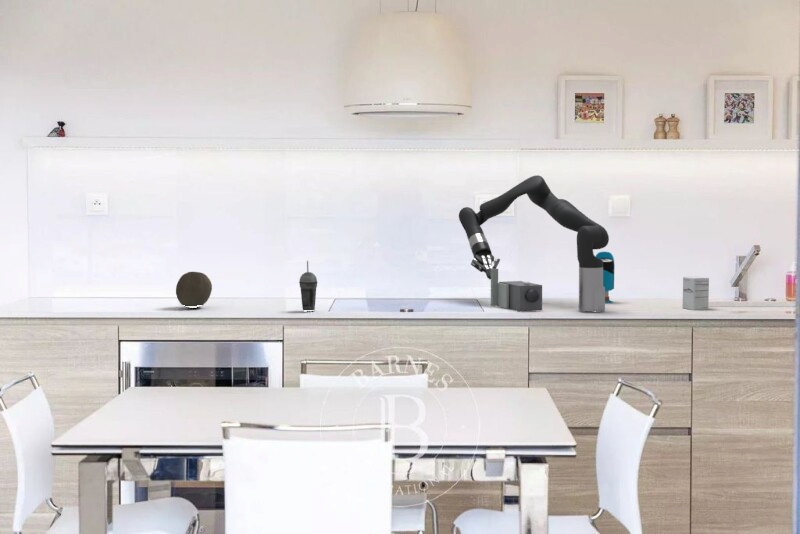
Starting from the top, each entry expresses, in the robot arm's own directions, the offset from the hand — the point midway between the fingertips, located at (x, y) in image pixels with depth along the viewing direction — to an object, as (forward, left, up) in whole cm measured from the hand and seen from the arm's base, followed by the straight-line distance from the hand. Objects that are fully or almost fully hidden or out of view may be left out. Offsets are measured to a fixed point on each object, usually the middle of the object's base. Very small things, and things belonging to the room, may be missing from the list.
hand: (491, 278), depth 419 cm
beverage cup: (+50, +55, -12) cm, 76 cm away
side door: (-5, +3, -11) cm, 13 cm away
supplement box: (-71, -38, -12) cm, 81 cm away
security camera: (-31, -39, -12) cm, 51 cm away
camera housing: (-14, 0, -12) cm, 18 cm away
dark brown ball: (+96, +73, -12) cm, 121 cm away
